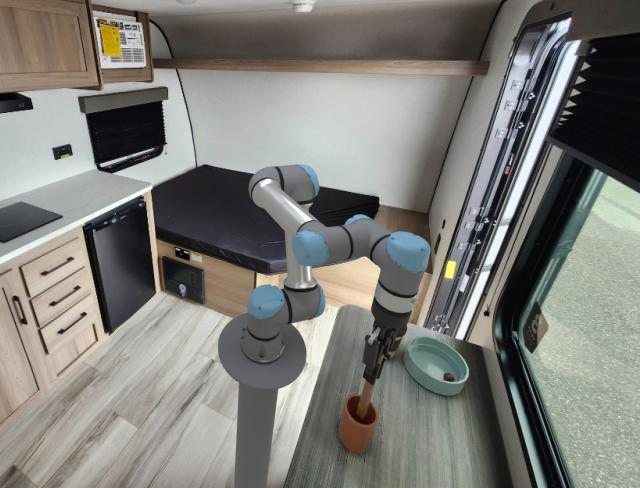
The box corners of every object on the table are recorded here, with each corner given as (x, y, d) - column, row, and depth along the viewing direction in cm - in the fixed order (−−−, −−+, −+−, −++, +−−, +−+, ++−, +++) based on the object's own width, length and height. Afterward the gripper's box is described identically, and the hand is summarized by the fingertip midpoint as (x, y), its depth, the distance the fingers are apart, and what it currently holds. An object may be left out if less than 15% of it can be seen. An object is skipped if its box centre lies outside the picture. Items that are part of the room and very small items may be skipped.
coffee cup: (399, 367, 103) (410, 334, 97) (368, 358, 106) (377, 325, 100) (396, 343, 112) (406, 311, 106) (367, 335, 115) (375, 304, 109)
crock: (331, 432, 85) (338, 406, 80) (349, 413, 89) (356, 387, 85) (358, 461, 79) (367, 434, 74) (375, 438, 84) (384, 412, 79)
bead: (449, 372, 97) (457, 382, 96) (448, 369, 100) (456, 378, 98) (440, 377, 98) (448, 386, 97) (440, 374, 101) (448, 383, 99)
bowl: (393, 365, 104) (398, 353, 101) (416, 340, 114) (421, 327, 111) (450, 408, 91) (456, 395, 89) (470, 375, 101) (476, 362, 99)
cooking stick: (356, 413, 80) (372, 353, 72) (359, 409, 81) (377, 349, 73) (362, 419, 79) (380, 358, 70) (366, 414, 80) (384, 354, 71)
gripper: (392, 330, 59) (368, 409, 68) (426, 297, 67) (401, 371, 76) (357, 306, 64) (339, 383, 73) (392, 278, 73) (372, 350, 82)
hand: (371, 377), depth 75 cm, fingers closed on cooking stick, 2 cm apart
